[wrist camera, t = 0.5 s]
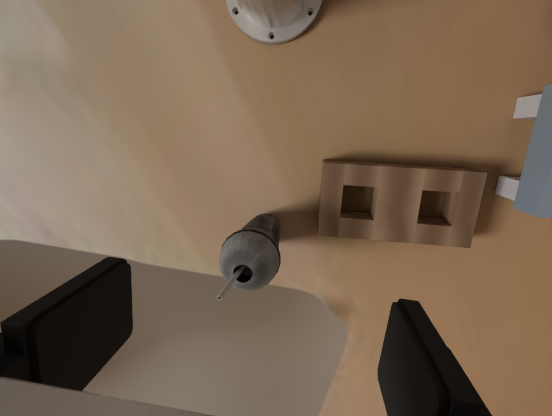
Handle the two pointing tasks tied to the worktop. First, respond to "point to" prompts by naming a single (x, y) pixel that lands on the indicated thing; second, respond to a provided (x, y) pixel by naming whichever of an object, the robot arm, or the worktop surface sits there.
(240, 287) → the beverage cup
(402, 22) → the worktop surface
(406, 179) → the brown rectangular block
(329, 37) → the worktop surface
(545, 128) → the grey block
